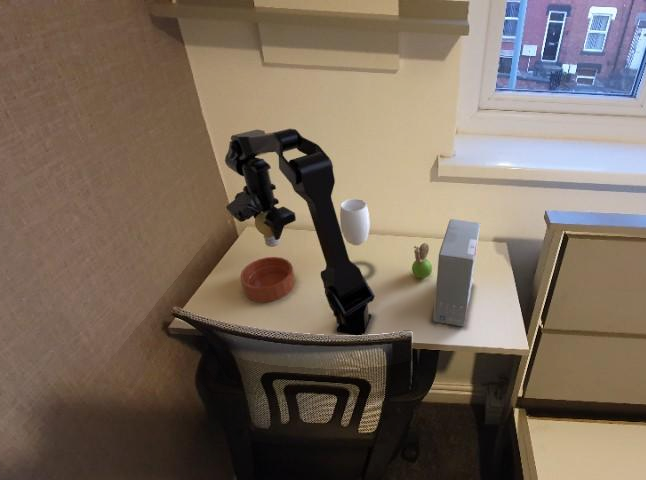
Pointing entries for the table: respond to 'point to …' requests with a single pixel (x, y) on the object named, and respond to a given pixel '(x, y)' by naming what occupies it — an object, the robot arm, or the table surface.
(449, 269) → the hard drive box
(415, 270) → the snail figurine
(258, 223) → the light bulb
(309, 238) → the table surface
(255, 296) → the bowl
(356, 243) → the cup
